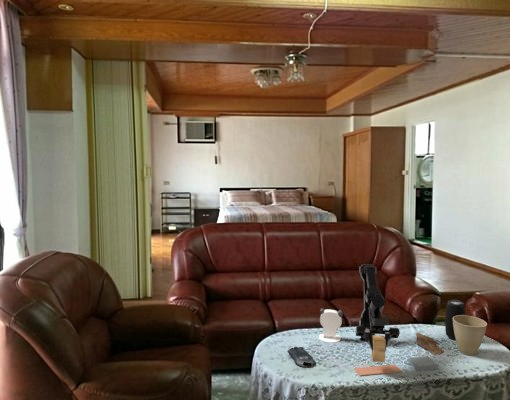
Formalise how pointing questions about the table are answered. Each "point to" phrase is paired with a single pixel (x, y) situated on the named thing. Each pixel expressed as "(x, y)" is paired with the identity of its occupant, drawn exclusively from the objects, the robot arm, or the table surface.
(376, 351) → the oak block
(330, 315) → the panda figurine
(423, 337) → the wooden fragment
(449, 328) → the portable speaker
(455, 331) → the plant pot
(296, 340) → the table surface
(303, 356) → the electronic device
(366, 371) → the terracotta mat
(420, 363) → the slate ledge
